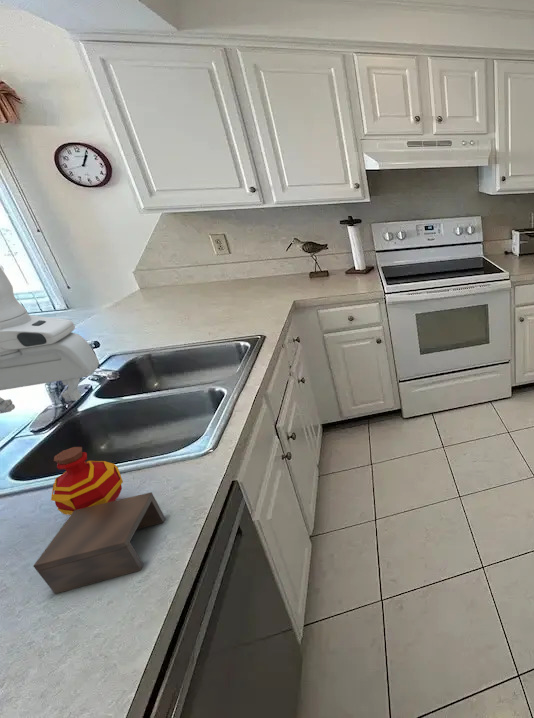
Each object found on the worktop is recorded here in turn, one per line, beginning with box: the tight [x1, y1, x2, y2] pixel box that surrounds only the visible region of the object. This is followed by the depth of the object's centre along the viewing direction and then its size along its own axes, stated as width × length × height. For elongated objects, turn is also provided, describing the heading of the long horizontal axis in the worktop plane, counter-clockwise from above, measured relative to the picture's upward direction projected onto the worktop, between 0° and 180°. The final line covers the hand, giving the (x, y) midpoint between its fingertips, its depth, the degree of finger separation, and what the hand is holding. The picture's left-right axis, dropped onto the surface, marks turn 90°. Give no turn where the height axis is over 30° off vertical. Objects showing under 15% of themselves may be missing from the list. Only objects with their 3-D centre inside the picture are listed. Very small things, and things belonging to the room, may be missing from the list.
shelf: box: [33, 492, 166, 595], centre depth 74 cm, size 12×12×7 cm
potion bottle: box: [50, 446, 124, 516], centre depth 81 cm, size 10×10×15 cm
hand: (41, 405), depth 74 cm, fingers open, 8 cm apart
